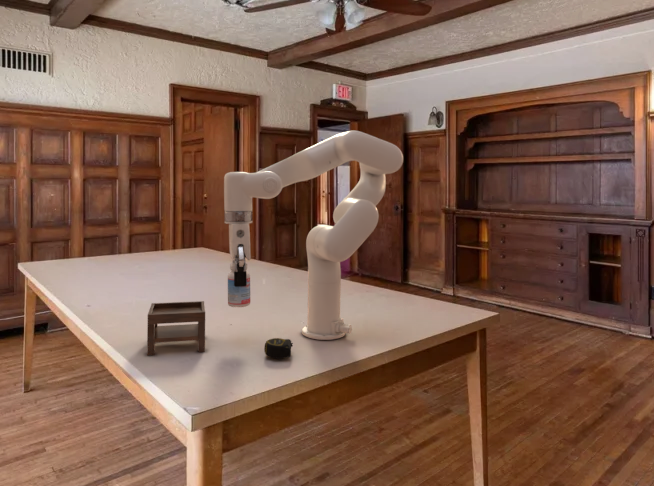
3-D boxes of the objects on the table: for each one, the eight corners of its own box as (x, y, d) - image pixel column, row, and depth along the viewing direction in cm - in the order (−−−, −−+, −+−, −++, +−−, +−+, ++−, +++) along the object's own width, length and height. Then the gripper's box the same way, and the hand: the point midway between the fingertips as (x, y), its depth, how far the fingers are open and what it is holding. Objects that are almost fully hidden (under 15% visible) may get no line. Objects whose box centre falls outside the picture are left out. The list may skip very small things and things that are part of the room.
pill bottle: (246, 308, 123) (245, 266, 122) (224, 307, 124) (224, 265, 124) (253, 302, 129) (252, 262, 128) (232, 301, 130) (232, 261, 130)
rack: (203, 337, 130) (204, 301, 130) (204, 351, 118) (205, 312, 118) (151, 340, 127) (151, 303, 127) (147, 355, 115) (147, 314, 115)
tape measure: (290, 361, 112) (291, 346, 112) (262, 360, 113) (262, 345, 113) (292, 352, 119) (292, 337, 119) (266, 351, 119) (266, 336, 119)
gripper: (256, 219, 118) (257, 289, 119) (248, 215, 135) (249, 277, 135) (226, 220, 116) (227, 291, 117) (222, 216, 133) (223, 278, 134)
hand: (239, 283), depth 126 cm, fingers closed on pill bottle, 6 cm apart
